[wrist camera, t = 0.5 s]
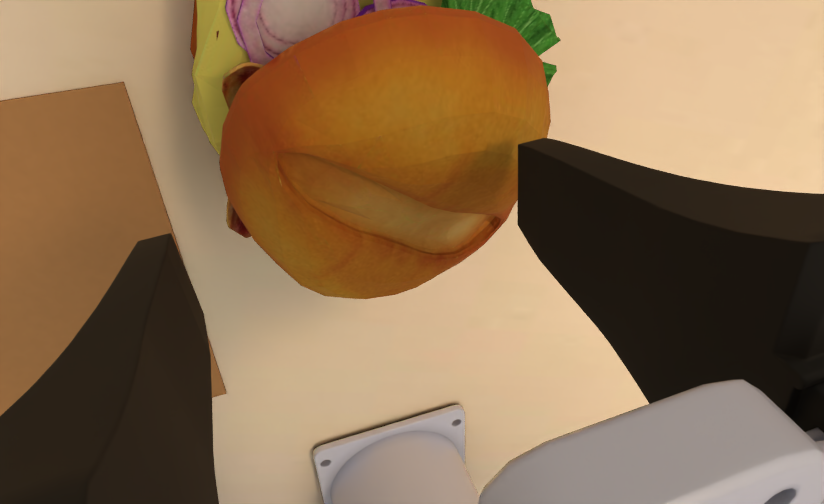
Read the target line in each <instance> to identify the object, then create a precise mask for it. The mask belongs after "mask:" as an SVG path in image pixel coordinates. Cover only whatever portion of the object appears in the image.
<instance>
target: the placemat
mask: <svg viewBox="0 0 824 504" xmlns="http://www.w3.org/2000/svg"><path fill="white" fill-rule="evenodd" d="M168 233H171V234H172V236H173V239H174V241H175V244H176V246H177V249H178V251H179V248H178V245H177V242H176V239H175V236H174V233H173V230H172V227H171V224H170V221H169V218H168V215H167V212H166V209H165V206H164V203H163V200H162V197H161V194H160V191H159V188H158V185H157V182H156V179H155V176H154V173H153V170H152V167H151V164H150V161H149V158H148V155H147V152H146V149H145V146H144V143H143V140H142V137H141V134H140V131H139V128H138V125H137V122H136V119H135V116H134V113H133V110H132V106H131V103H130V100H129V97H128V94H127V91H126V88H125V85H124V82H121V83H115V84H108V85H102V86H95V87H89V88H82V89H76V90H70V91H63V92H57V93H50V94H44V95H37V96H31V97H24V98H18V99H11V100H5V101H0V416H1V415H2V414H3V413H4V412H5V411H6V410H7V409H8V408H9V407H11V406H12V405H13V404H14V403H15V402H16V401H17V400H18V399H19V398H20V397H21V396H22V395H23V394H24V393H25V392H27V391H28V390H29V389H30V387H31V386H32V385H33V384H34V383H35V382H36V381H37V380H38V379H39V378H40V377H41V376H42V375H43V374H44V373H45V371H46V370H47V369H48V368H49V367H50V366H51V365H52V364H53V363H54V362H55V360H56V359H57V358H58V357H59V356H60V355H61V353H62V352H63V351H64V350H65V349H66V347H67V346H68V345H69V344H70V342H71V341H72V340H73V338H74V337H75V336H76V334H77V333H78V332H79V330H80V329H81V328H82V326H83V325H84V324H85V322H86V321H87V319H88V318H89V317H90V315H91V314H92V313H93V311H94V310H95V309H96V307H97V306H98V304H99V302H100V301H101V299H102V298H103V296H104V295H105V293H106V292H107V290H108V289H109V287H110V286H111V284H112V282H113V281H114V279H115V277H116V276H117V274H118V272H119V271H120V269H121V267H122V266H123V264H124V263H125V261H126V259H127V258H128V256H129V254H130V253H131V251H132V250H133V248H134V247H135V245H136V243H137V242H138V241H141V240H144V239H148V238H152V237H156V236H160V235H164V234H168ZM179 254H180V251H179ZM180 256H181V255H180ZM181 259H182V258H181ZM208 343H209V349H210V355H211V383H212V397H215V396H219V395H223V394H226V390H225V387H224V384H223V381H222V378H221V375H220V372H219V369H218V366H217V363H216V360H215V357H214V354H213V351H212V348H211V345H210V342H209V339H208Z"/></svg>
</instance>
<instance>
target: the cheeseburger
mask: <svg viewBox="0 0 824 504" xmlns="http://www.w3.org/2000/svg"><path fill="white" fill-rule="evenodd" d="M559 41H560V39H559V37H557V36H556V33H555V30H554V26H553V23H552V20H551V17H550V15H549V14H546V13H544V12H541V11H539V10H536V9H534V8H533V5H532V3H531V0H195V2H194V14H193V25H192V37H191V48H190V49H191V52H192V55H193V58H194V65H193V70H192V77H193V81H194V85H195V87H194V93H193V99H192V104H193V106H194V109H195V111H196V114H197V116H198V119H199V121H200V123H201V126H202V128H203V130H204V131H205V133H206V134H207V136H208V138H209V142H210V143H211V145H212V146H213V147H214V149H215V150H216V151H217V153H218V154H219V155H220V162H219V163H220V170H221V174H222V178H223V182H224V186H225V190H226V194H227V196H228V202H227V220H226V221H227V224H228V227H229V228H230V229H232V230H234V231H235V232H237V233H239V234H240V235H242V236H244V237H245V238H248V237H251V236H252V238H253V239H254V241H255V242H256V243H257V244H258V245H259V246H260V247H261V248H262V249H263V250H264V251H265V252H266V253H267V254H268V255H269V256H270V257H271V258H272V259H273V260H274V261H275V262H276V263H277V264H278V265H279V266H280V267H281V268H282V269H283V270H284V271H285V272H287V273H288V274H289V275H290V276H291V277H292V278H293V279H294V280H296V281H297V282H298V283H299V284H300V285H301V286H304V287H306V288H308V289H310V290H313V291H315V292H317V293H320V294H322V295H324V296H331V297H342V298H353V299H369V298H376V297H383V296H389V295H395V294H398V293H401V292H404V291H407V290H410V289H413V288H416V287H418V286H419V285H421V284H423V283H425V282H427V281H429V280H431V279H432V278H434V277H435V276H437V275H439V274H440V273H442V272H444V271H446V270H448V269H449V268H451V267H453V266H455V265H457V264H458V263H460V262H461V261H463V260H464V259H466V258H467V257H468V256H470V255H471V254H472V253H474V252H475V251H476V250H478V249H479V248H480V247H481V246H483V245H484V244H485V243H486V242H487V241H488V240H489V238H490V237H491V236H492V235H493V234H494V233H495V232H496V231H497V230H498V229H499V228H500V226H501V225H502V224H503V223H504V222H505V221H506V219H507V218H508V216H509V214H510V212H511V210H512V208H513V206H514V204H515V203H516V201H517V200H518V144H521V143H525V142H529V141H533V140H537V139H541V138H547V134H548V130H549V126H550V122H551V120H550V106H549V93H548V85H549V83H550V81H551V79H552V77H553V75H554V74H555V73H556V71H557V70H556V66H555V65H551V64H548V63H545V62H542V60H541V59H540V58H539V55H541V54H542V53H543V52H545V51H546V50H548V49H549V48H551V47H552V46H553V45H555V44H556V43H558V42H559Z"/></svg>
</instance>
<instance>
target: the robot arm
mask: <svg viewBox="0 0 824 504" xmlns="http://www.w3.org/2000/svg"><path fill="white" fill-rule="evenodd" d="M518 226H519V227H520V229H521V231H522V233H523V234H524V236H525V238H526V239H527V241H528V243H529V244H530V246H531V247H532V249H533V250H534V252H535V254H536V255H537V257H538V258H539V260H540V261H541V262H542V263H543V264H544V266H545V267H546V268H547V269H548V270H549V272H550V273H551V274H552V275H553V276H554V277H555V279H556V280H557V281H558V282H559V283H560V285H561V286H562V287H563V288H564V289H565V290H566V291H567V293H568V294H569V295H570V296H571V297H572V298H573V300H574V301H575V302H576V303H577V304H578V305H579V306H580V308H581V309H582V310H583V311H584V312H585V313H586V315H587V316H588V317H589V318H590V319H591V320H592V321H593V323H594V324H595V325H596V326H597V327H598V329H599V330H600V331H601V332H602V334H603V335H604V336H605V338H606V339H607V340H608V341H609V343H610V344H611V346H612V347H613V349H614V350H615V352H616V353H617V355H618V356H619V357H620V359H621V360H622V362H623V363H624V365H625V366H626V368H627V369H628V371H629V372H630V374H631V375H632V377H633V378H634V380H635V381H636V383H637V385H638V386H639V388H640V389H641V391H642V393H643V394H644V396H645V397H646V399H647V400H648V402H649V404H648V405H645V406H642V407H640V408H637V409H634V410H631V411H629V412H626V413H623V414H620V415H618V416H615V417H612V418H609V419H607V420H604V421H601V422H598V423H596V424H593V425H590V426H587V427H585V428H582V429H579V430H576V431H574V432H571V433H568V434H565V435H563V436H560V437H557V438H554V439H552V440H549V441H546V442H544V443H542V444H540V445H538V446H536V447H534V448H533V449H531V450H529V451H527V452H525V453H523V454H522V455H520V456H518V457H516V458H514V459H512V460H510V461H509V462H508V463H507V464H506V465H505V466H504V467H503V468H502V469H501V470H500V471H499V472H498V473H497V474H496V475H495V476H494V478H493V479H492V480H491V481H490V482H489V483H488V484H487V485H486V486H485V487H484V489H483V491H482V493H481V495H480V497H479V495H478V493H477V491H476V488H475V486H474V484H473V482H472V480H471V478H470V476H469V474H468V472H467V469H466V467H465V412H464V410H463V408H462V406H460V405H453V406H449V407H446V408H443V409H439V410H436V411H433V412H429V413H426V414H423V415H419V416H416V417H413V418H410V419H406V420H403V421H400V422H396V423H393V424H390V425H386V426H383V427H380V428H376V429H373V430H370V431H366V432H363V433H360V434H357V435H353V436H350V437H347V438H343V439H340V440H337V441H333V442H330V443H327V444H323V445H321V446H318V447H317V448H316V449H315V450H314V451H313V457H314V461H315V466H316V470H317V474H318V479H319V483H320V487H321V492H322V496H323V500H324V504H824V194H810V193H795V192H782V191H772V190H763V189H753V188H745V187H738V186H731V185H725V184H719V183H714V182H708V181H703V180H697V179H692V178H687V177H683V176H678V175H674V174H671V173H667V172H663V171H659V170H655V169H651V168H647V167H644V166H640V165H637V164H633V163H630V162H627V161H623V160H620V159H617V158H614V157H610V156H607V155H604V154H601V153H598V152H594V151H591V150H588V149H585V148H582V147H578V146H575V145H572V144H568V143H565V142H561V141H557V140H553V139H548V138H541V139H537V140H533V141H529V142H525V143H521V144H518ZM0 504H219V501H218V494H217V487H216V480H215V471H214V457H213V425H212V383H211V355H210V349H209V343H208V336H207V331H206V325H205V319H204V314H203V311H202V309H201V306H200V304H199V301H198V299H197V296H196V294H195V291H194V289H193V286H192V284H191V281H190V279H189V276H188V274H187V271H186V269H185V266H184V264H183V261H182V259H181V256H180V254H179V251H178V249H177V246H176V244H175V241H174V239H173V236H172V234H171V233H168V234H164V235H160V236H156V237H152V238H148V239H144V240H141V241H138V242H137V243H136V245H135V247H134V248H133V250H132V251H131V253H130V254H129V256H128V258H127V259H126V261H125V263H124V264H123V266H122V267H121V269H120V271H119V272H118V274H117V276H116V277H115V279H114V281H113V282H112V284H111V286H110V287H109V289H108V290H107V292H106V293H105V295H104V296H103V298H102V299H101V301H100V302H99V304H98V306H97V307H96V309H95V310H94V311H93V313H92V314H91V315H90V317H89V318H88V319H87V321H86V322H85V324H84V325H83V326H82V328H81V329H80V330H79V332H78V333H77V334H76V336H75V337H74V338H73V340H72V341H71V342H70V344H69V345H68V346H67V347H66V349H65V350H64V351H63V352H62V353H61V355H60V356H59V357H58V358H57V359H56V360H55V362H54V363H53V364H52V365H51V366H50V367H49V368H48V369H47V370H46V371H45V373H44V374H43V375H42V376H41V377H40V378H39V379H38V380H37V381H36V382H35V383H34V384H33V385H32V386H31V387H30V389H29V390H28V391H27V392H25V393H24V394H23V395H22V396H21V397H20V398H19V399H18V400H17V401H16V402H15V403H14V404H13V405H12V406H11V407H9V408H8V409H7V410H6V411H5V412H4V413H3V414H2V415H1V416H0Z"/></svg>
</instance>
